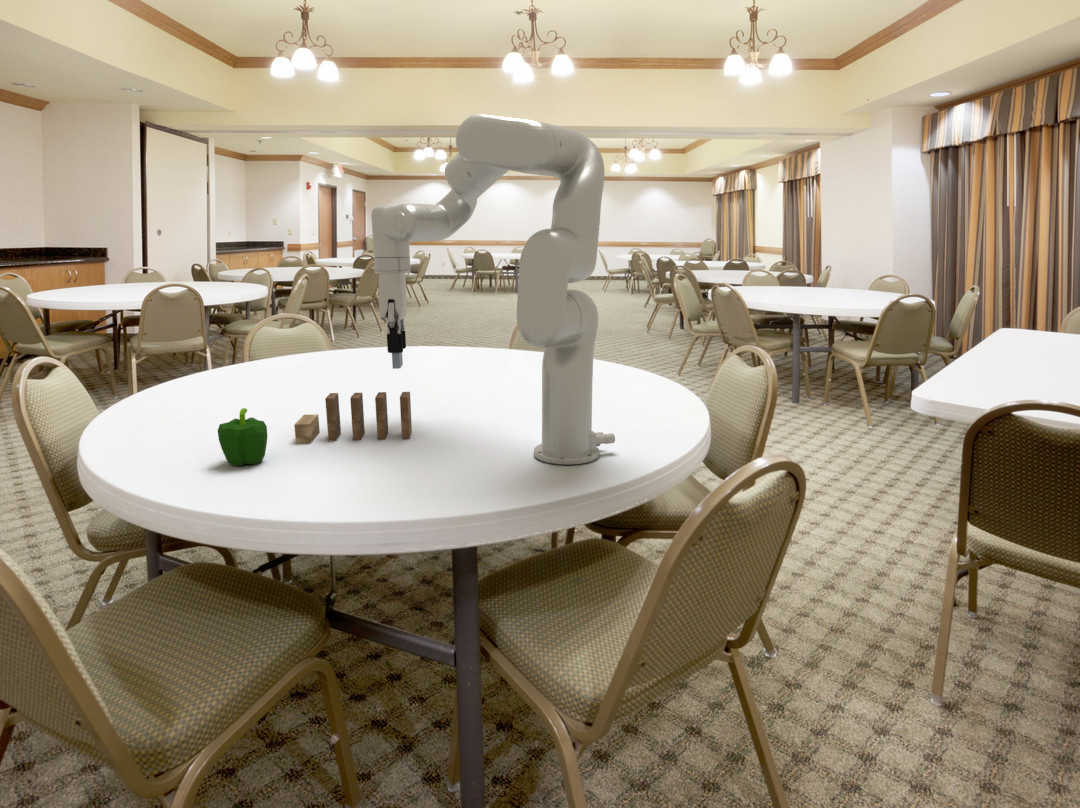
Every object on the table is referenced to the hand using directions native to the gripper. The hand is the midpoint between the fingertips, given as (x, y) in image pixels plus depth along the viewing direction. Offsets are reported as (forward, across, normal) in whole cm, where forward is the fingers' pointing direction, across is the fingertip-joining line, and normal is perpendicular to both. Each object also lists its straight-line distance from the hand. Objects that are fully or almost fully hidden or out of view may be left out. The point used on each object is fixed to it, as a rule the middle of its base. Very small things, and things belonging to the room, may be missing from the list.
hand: (397, 349), depth 155 cm
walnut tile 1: (+17, +10, +2) cm, 20 cm away
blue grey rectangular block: (+4, 0, 0) cm, 4 cm away
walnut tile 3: (+17, +10, -8) cm, 21 cm away
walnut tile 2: (+17, +10, -3) cm, 20 cm away
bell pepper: (+17, +26, -26) cm, 40 cm away
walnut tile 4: (+17, +10, -13) cm, 23 cm away
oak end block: (+17, +10, -18) cm, 27 cm away
